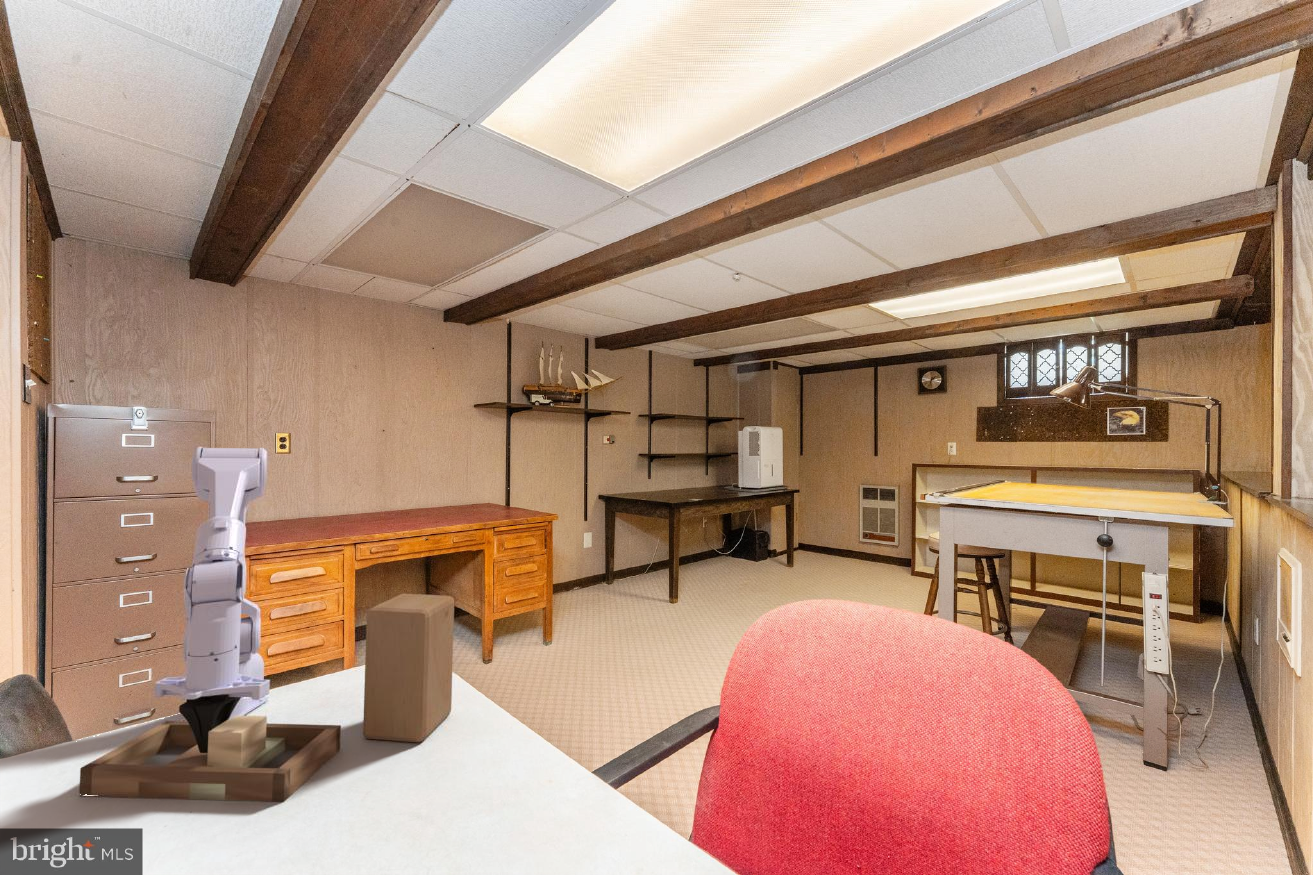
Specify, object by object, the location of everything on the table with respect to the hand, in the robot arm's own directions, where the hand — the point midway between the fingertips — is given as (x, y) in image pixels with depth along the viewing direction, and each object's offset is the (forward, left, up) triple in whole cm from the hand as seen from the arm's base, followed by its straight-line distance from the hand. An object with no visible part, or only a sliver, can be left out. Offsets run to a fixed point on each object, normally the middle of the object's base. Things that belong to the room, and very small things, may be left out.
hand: (210, 749), depth 75 cm
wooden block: (-13, +21, -3) cm, 25 cm away
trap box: (0, +1, -3) cm, 3 cm away
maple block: (0, +4, -1) cm, 4 cm away
